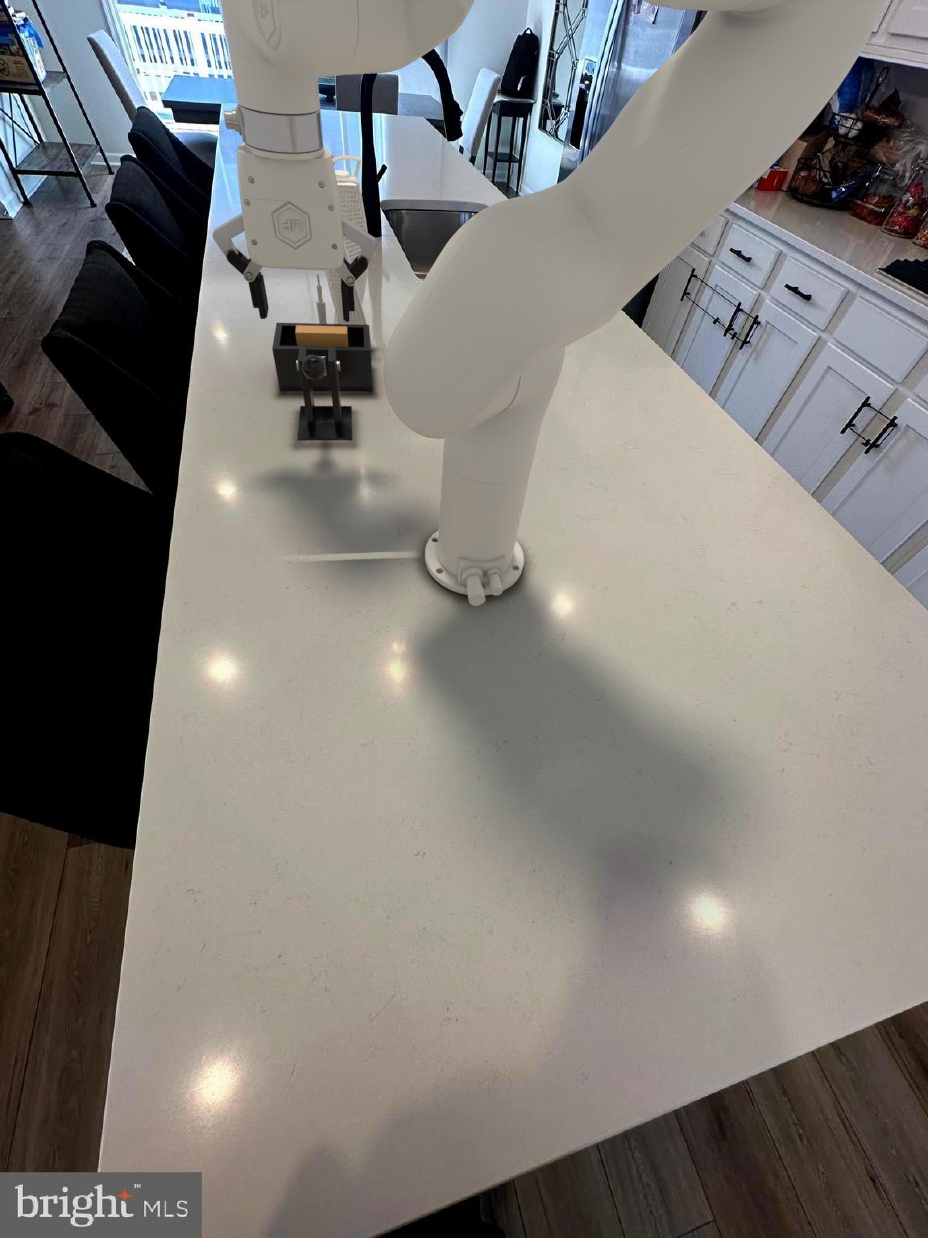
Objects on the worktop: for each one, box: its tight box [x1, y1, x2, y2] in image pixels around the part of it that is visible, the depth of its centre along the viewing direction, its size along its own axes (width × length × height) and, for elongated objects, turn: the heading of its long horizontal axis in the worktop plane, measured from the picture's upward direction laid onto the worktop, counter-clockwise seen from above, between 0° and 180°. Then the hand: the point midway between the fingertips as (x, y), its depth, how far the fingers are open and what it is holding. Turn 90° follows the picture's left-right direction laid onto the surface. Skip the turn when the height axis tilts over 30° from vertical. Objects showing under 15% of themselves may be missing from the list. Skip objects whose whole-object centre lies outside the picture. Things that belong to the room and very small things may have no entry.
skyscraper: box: [315, 154, 374, 351], centre depth 93 cm, size 8×8×28 cm
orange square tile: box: [295, 325, 349, 347], centre depth 92 cm, size 2×8×8 cm, turn 98°
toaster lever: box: [302, 355, 328, 380], centre depth 76 cm, size 11×3×3 cm, turn 8°
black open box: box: [271, 322, 374, 393], centre depth 93 cm, size 9×15×8 cm, turn 98°
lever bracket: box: [296, 346, 353, 441], centre depth 82 cm, size 9×8×12 cm
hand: (306, 315), depth 67 cm, fingers open, 9 cm apart
